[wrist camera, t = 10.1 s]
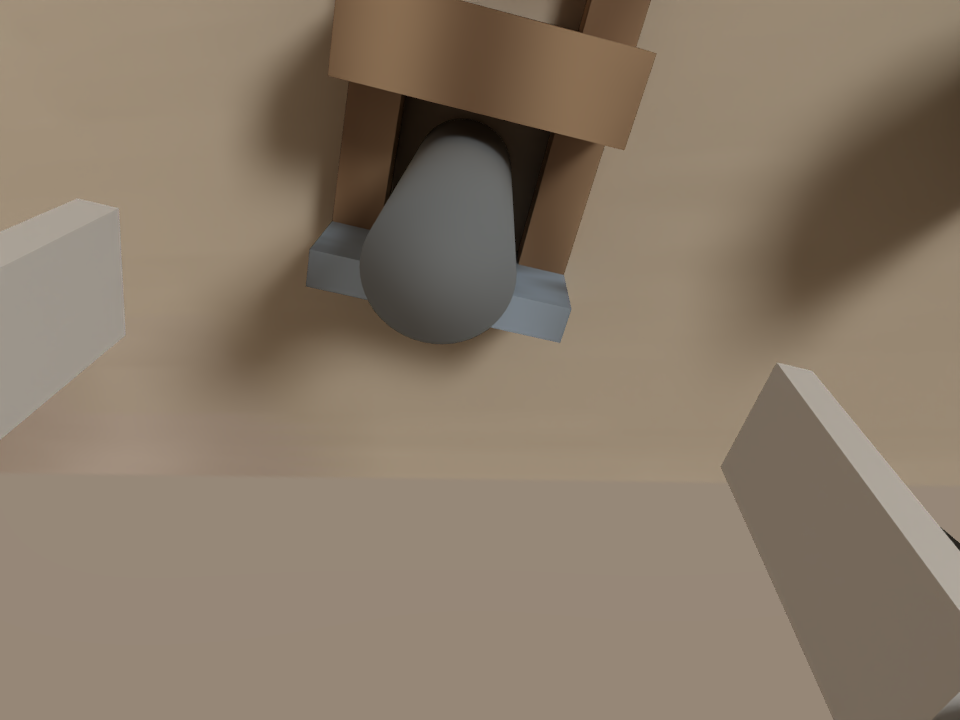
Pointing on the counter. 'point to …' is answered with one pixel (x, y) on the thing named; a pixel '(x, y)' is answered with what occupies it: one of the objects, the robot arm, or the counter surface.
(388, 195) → the socket block
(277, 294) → the counter surface
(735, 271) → the counter surface
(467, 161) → the plug
